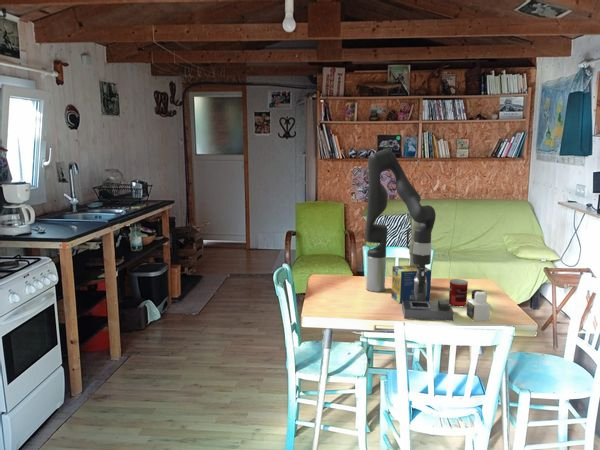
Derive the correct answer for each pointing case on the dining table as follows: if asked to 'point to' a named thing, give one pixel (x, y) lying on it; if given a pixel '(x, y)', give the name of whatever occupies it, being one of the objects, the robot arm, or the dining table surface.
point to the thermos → (412, 240)
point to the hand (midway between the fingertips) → (420, 291)
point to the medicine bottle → (478, 306)
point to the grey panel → (427, 310)
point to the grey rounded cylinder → (417, 296)
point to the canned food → (458, 292)
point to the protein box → (407, 283)
